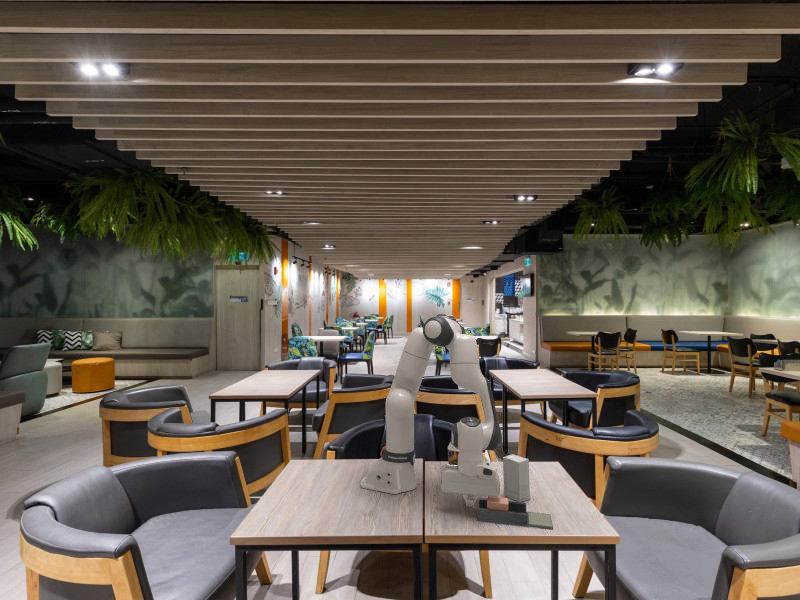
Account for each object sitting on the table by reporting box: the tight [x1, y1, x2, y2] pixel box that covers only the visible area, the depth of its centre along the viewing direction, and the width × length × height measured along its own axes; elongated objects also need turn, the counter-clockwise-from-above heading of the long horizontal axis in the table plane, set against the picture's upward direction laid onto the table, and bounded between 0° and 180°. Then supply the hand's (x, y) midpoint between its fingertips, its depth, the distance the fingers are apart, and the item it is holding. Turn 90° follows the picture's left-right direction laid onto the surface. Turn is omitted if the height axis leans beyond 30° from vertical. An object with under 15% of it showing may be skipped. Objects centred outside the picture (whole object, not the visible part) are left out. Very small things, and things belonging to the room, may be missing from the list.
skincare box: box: [502, 454, 531, 502], centre depth 172 cm, size 8×6×15 cm
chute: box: [476, 497, 554, 530], centre depth 154 cm, size 24×10×4 cm, turn 77°
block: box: [486, 496, 509, 511], centre depth 155 cm, size 7×5×4 cm
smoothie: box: [447, 441, 459, 465], centre depth 187 cm, size 8×8×20 cm
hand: (470, 506), depth 158 cm, fingers closed
